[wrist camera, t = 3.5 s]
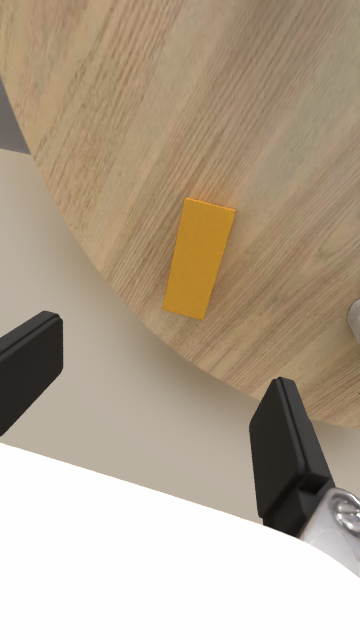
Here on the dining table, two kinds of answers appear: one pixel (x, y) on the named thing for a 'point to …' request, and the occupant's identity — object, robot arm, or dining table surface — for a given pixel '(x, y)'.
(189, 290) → the block
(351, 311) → the house plant
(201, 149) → the dining table surface
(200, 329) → the dining table surface
